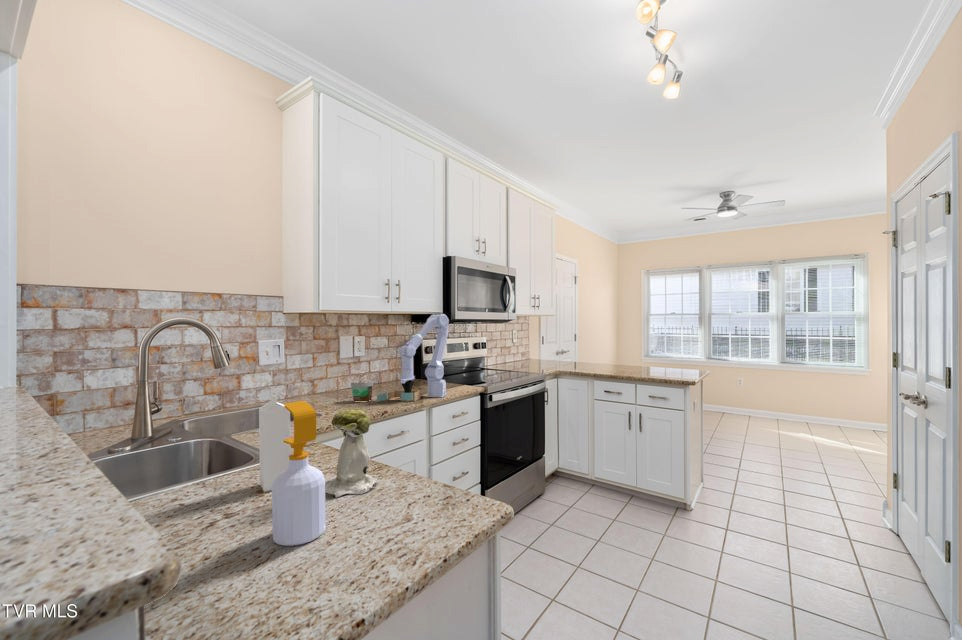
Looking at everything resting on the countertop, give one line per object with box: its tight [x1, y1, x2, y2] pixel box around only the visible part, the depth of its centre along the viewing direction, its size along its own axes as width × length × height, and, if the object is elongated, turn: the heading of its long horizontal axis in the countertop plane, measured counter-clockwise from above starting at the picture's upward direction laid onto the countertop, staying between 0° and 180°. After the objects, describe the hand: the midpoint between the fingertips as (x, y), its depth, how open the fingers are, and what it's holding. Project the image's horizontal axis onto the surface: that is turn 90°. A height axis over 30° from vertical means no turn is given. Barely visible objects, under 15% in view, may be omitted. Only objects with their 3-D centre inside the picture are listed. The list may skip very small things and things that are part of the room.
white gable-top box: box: [258, 394, 292, 493], centre depth 101 cm, size 6×6×22 cm
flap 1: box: [376, 392, 388, 402], centre depth 206 cm, size 6×1×3 cm, turn 144°
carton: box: [387, 389, 421, 402], centre depth 212 cm, size 15×8×4 cm, turn 78°
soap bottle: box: [271, 400, 327, 547], centre depth 77 cm, size 9×9×25 cm
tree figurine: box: [325, 408, 379, 498], centre depth 99 cm, size 12×13×18 cm
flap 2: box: [401, 393, 413, 400], centre depth 206 cm, size 6×1×3 cm, turn 78°
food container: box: [350, 380, 374, 401], centre depth 207 cm, size 12×6×10 cm, turn 73°
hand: (408, 395), depth 209 cm, fingers closed
